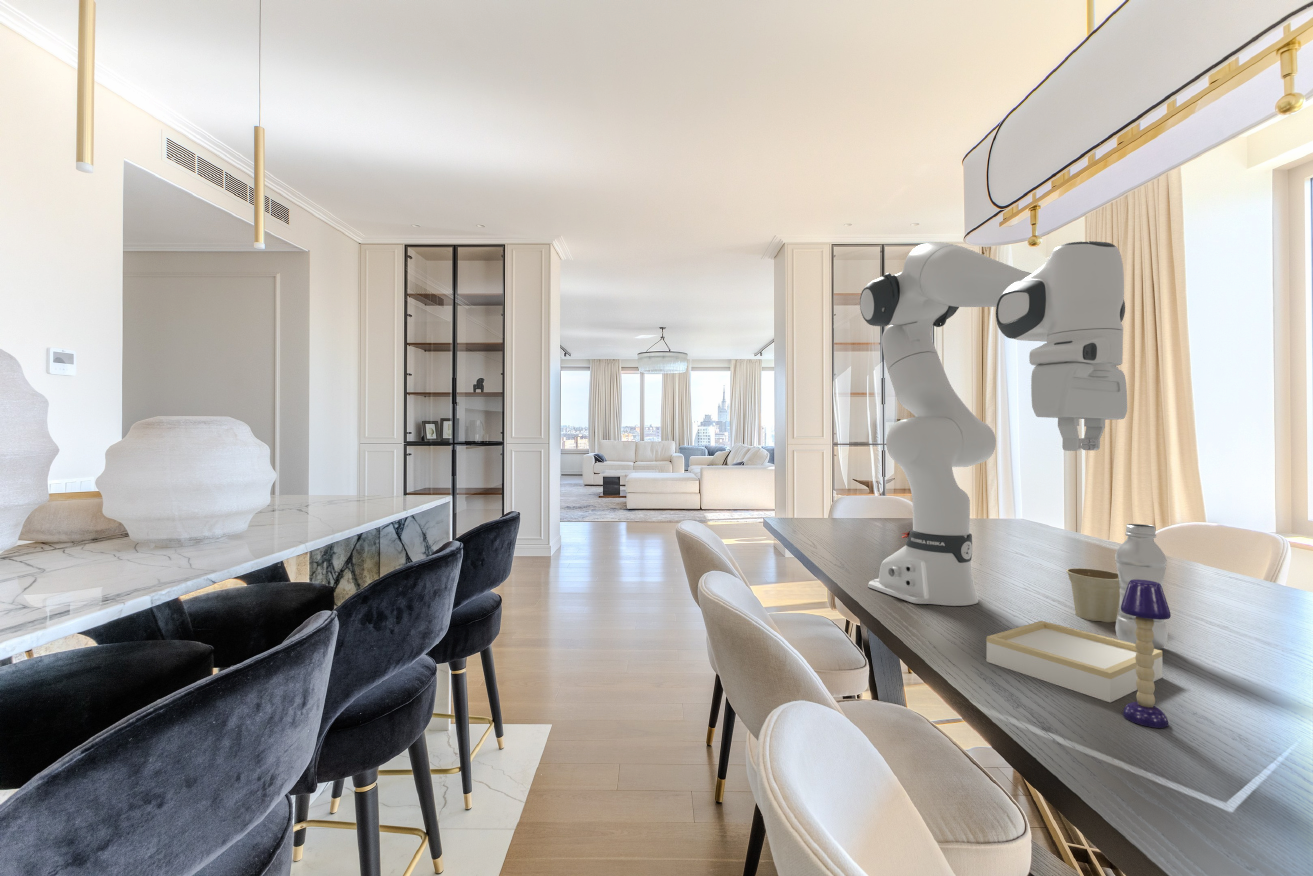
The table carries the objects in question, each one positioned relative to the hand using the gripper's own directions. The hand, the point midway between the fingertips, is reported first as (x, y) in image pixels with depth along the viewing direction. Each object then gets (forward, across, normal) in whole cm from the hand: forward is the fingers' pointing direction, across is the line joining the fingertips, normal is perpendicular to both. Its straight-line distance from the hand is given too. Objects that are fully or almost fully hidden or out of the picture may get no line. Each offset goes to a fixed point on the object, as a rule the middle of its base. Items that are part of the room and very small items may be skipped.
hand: (1081, 450), depth 84 cm
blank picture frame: (+32, -1, -1) cm, 32 cm away
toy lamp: (+32, +8, +11) cm, 35 cm away
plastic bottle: (+33, -22, 0) cm, 39 cm away
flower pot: (+33, -33, -11) cm, 48 cm away
